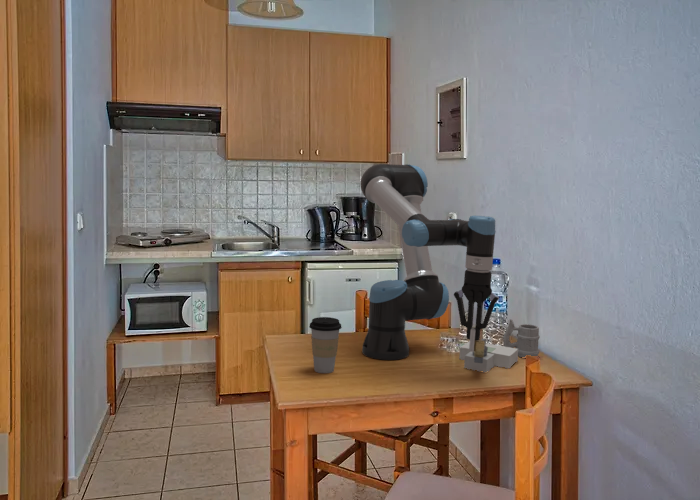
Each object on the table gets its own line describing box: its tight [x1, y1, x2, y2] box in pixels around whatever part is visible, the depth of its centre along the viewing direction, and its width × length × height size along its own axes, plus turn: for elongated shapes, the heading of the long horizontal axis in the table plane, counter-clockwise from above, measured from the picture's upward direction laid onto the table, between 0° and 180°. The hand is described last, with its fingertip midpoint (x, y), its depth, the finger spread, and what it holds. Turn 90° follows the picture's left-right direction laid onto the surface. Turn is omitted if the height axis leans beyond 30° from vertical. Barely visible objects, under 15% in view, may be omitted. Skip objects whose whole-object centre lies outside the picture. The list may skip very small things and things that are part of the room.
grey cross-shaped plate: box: [458, 338, 519, 369], centre depth 201 cm, size 16×10×6 cm, turn 60°
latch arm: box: [473, 339, 488, 363], centre depth 188 cm, size 14×4×7 cm, turn 166°
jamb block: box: [463, 352, 495, 373], centre depth 193 cm, size 7×7×8 cm
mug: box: [502, 318, 540, 358], centre depth 208 cm, size 8×12×12 cm, turn 87°
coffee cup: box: [309, 316, 343, 374], centre depth 185 cm, size 9×9×15 cm
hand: (472, 350), depth 184 cm, fingers closed
